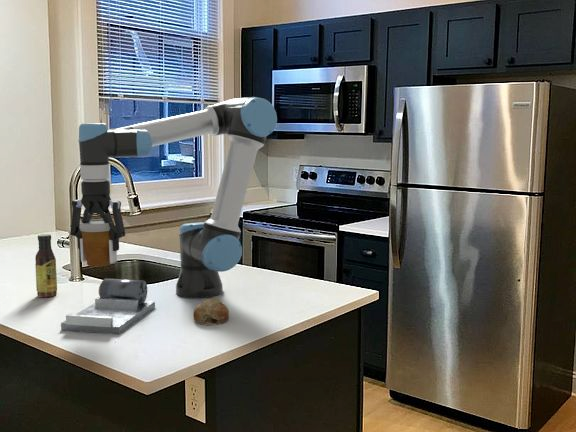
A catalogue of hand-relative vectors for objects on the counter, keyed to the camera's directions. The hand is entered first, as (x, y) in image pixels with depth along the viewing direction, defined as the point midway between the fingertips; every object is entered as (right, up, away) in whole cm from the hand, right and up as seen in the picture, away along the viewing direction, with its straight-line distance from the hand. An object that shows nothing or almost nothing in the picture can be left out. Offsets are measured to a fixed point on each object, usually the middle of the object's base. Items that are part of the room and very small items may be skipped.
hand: (99, 261), depth 181 cm
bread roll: (+31, -17, +4) cm, 35 cm away
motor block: (+2, -17, +5) cm, 18 cm away
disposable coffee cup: (0, -1, 0) cm, 1 cm away
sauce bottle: (-25, -13, +29) cm, 41 cm away
